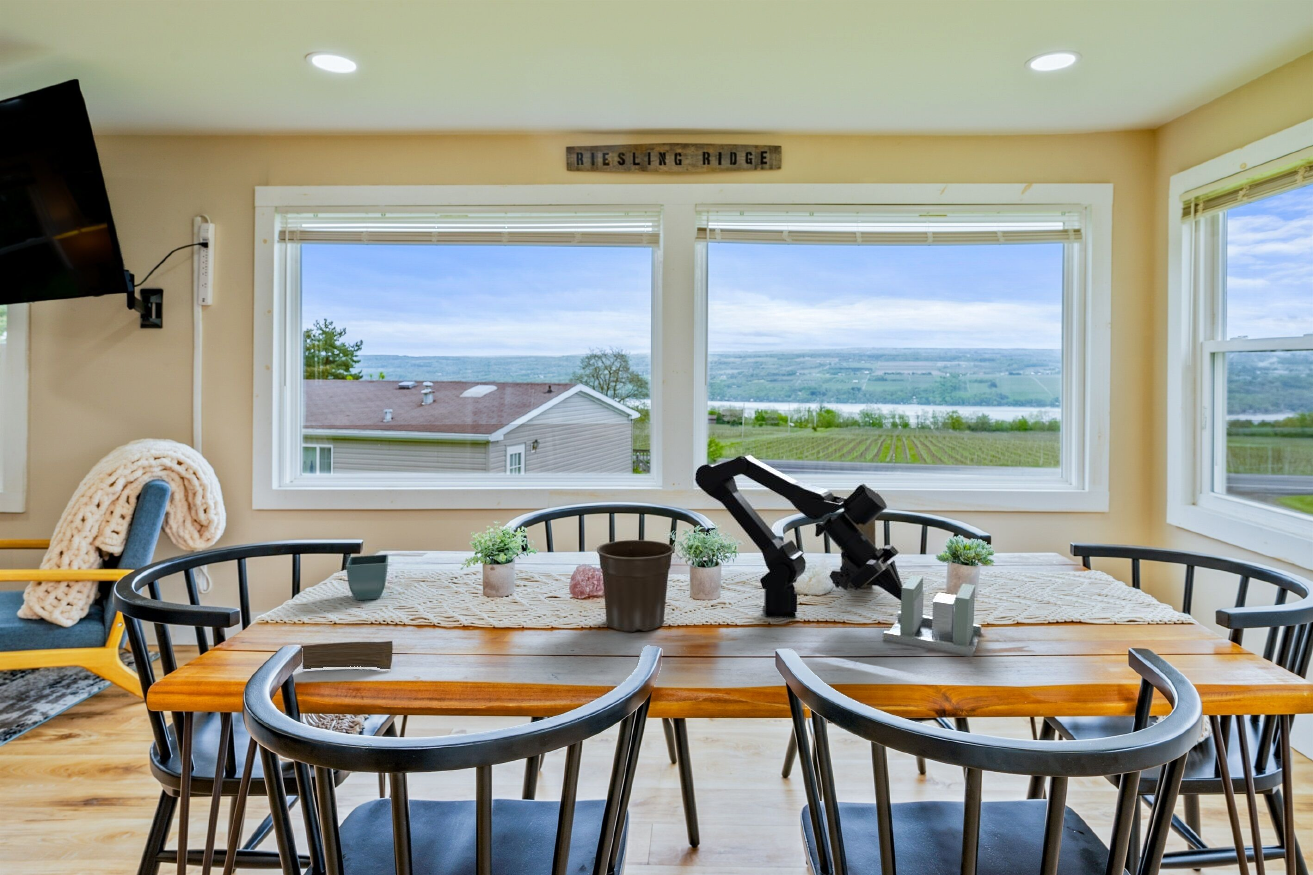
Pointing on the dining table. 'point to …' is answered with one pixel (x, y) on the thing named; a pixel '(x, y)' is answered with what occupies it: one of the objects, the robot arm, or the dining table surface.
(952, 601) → the steel block
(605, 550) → the plant pot
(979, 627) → the vise base
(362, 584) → the flower pot
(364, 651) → the wood plank
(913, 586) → the bar
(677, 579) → the dining table surface
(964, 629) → the fixed jaw
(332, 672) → the dining table surface
